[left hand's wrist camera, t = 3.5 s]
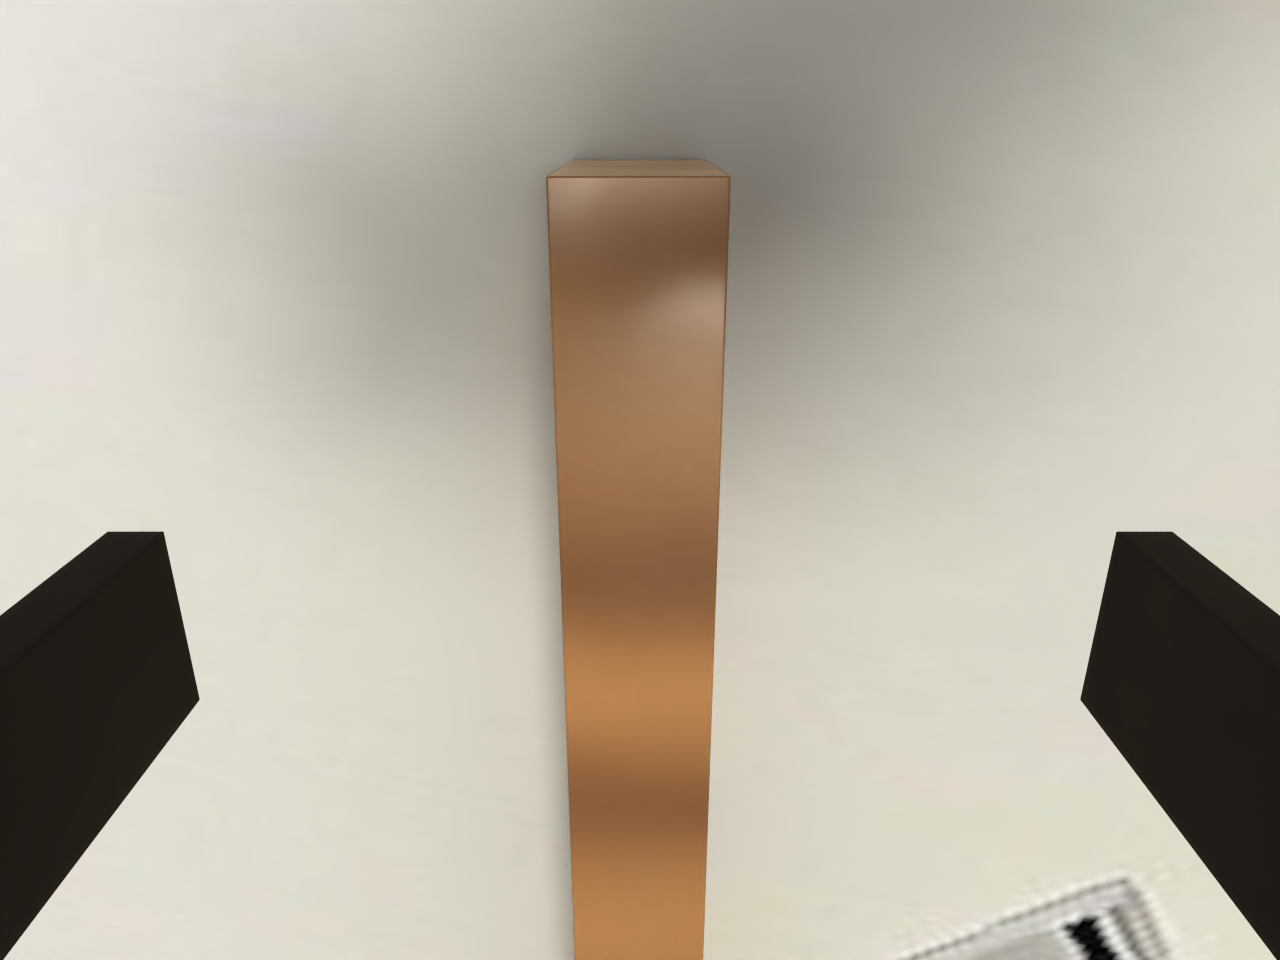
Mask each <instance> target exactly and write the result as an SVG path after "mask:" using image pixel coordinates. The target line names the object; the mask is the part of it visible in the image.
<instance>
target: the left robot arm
mask: <svg viewBox="0 0 1280 960" xmlns="http://www.w3.org/2000/svg"><path fill="white" fill-rule="evenodd" d="M199 700H200V699H199V695H198V690H197V685H196V681H195V676H194V671H193V667H192V662H191V657H190V653H189V648H188V644H187V639H186V634H185V630H184V625H183V620H182V616H181V611H180V606H179V602H178V597H177V592H176V588H175V583H174V579H173V574H172V569H171V565H170V560H169V555H168V551H167V546H166V541H165V537H164V532H107V533H106V534H104V535H103V536H102V537H100V538H99V539H98V540H97V541H95V542H94V543H93V544H91V545H90V546H89V547H88V548H86V549H85V550H84V551H83V552H81V553H80V554H79V555H77V556H76V557H75V558H74V559H72V560H71V561H70V562H68V563H67V564H66V565H65V566H63V567H62V568H61V569H59V570H58V571H57V572H56V573H54V574H53V575H52V576H50V577H49V578H48V579H47V580H45V581H44V582H43V583H42V584H40V585H39V586H38V587H36V588H35V589H34V590H33V591H31V592H30V593H29V594H27V595H26V596H25V597H24V598H22V599H21V600H20V601H18V602H17V603H16V604H15V605H13V606H12V607H11V608H9V609H8V610H7V611H6V612H4V613H3V614H2V615H1V616H0V960H3V959H4V958H5V957H6V955H7V954H8V953H9V951H10V950H11V949H12V947H13V946H14V945H15V943H16V942H17V941H18V939H19V938H20V937H21V935H22V934H23V933H24V931H25V930H26V929H27V927H28V926H29V925H30V923H31V922H32V921H33V920H34V918H35V917H36V916H37V914H38V913H39V912H40V910H41V909H42V908H43V906H44V905H45V904H46V902H47V901H48V900H49V898H50V897H51V896H52V894H53V893H54V892H55V890H56V889H57V888H58V886H59V885H60V884H61V882H62V881H63V880H64V878H65V877H66V876H67V874H68V873H69V872H70V871H71V869H72V868H73V867H74V865H75V864H76V863H77V861H78V860H79V859H80V857H81V856H82V855H83V853H84V852H85V851H86V849H87V848H88V847H89V845H90V844H91V843H92V841H93V840H94V839H95V837H96V836H97V835H98V833H99V832H100V831H101V829H102V828H103V827H104V825H105V824H106V823H107V822H108V820H109V819H110V818H111V816H112V815H113V814H114V812H115V811H116V810H117V808H118V807H119V806H120V804H121V803H122V802H123V800H124V799H125V798H126V796H127V795H128V794H129V792H130V791H131V790H132V788H133V787H134V786H135V784H136V783H137V782H138V780H139V779H140V778H141V776H142V775H143V774H144V773H145V771H146V770H147V769H148V767H149V766H150V765H151V763H152V762H153V761H154V759H155V758H156V757H157V755H158V754H159V753H160V751H161V750H162V749H163V747H164V746H165V745H166V743H167V742H168V741H169V739H170V738H171V737H172V735H173V734H174V733H175V731H176V730H177V729H178V727H179V726H180V725H181V724H182V722H183V721H184V720H185V718H186V717H187V716H188V714H189V713H190V712H191V710H192V709H193V708H194V706H195V705H196V704H197V702H198V701H199ZM1080 700H1081V701H1082V702H1083V704H1084V705H1085V706H1086V708H1087V709H1088V710H1089V712H1090V713H1091V714H1092V716H1093V717H1094V718H1095V720H1096V721H1097V722H1098V724H1099V725H1100V726H1101V727H1102V729H1103V730H1104V731H1105V733H1106V734H1107V735H1108V737H1109V738H1110V739H1111V741H1112V742H1113V743H1114V745H1115V746H1116V747H1117V749H1118V750H1119V751H1120V753H1121V754H1122V755H1123V757H1124V758H1125V759H1126V761H1127V762H1128V763H1129V765H1130V766H1131V767H1132V769H1133V770H1134V771H1135V773H1136V774H1137V775H1138V776H1139V778H1140V779H1141V780H1142V782H1143V783H1144V784H1145V786H1146V787H1147V788H1148V790H1149V791H1150V792H1151V794H1152V795H1153V796H1154V798H1155V799H1156V800H1157V802H1158V803H1159V804H1160V806H1161V807H1162V808H1163V810H1164V811H1165V812H1166V814H1167V815H1168V816H1169V818H1170V819H1171V820H1172V822H1173V823H1174V824H1175V825H1176V827H1177V828H1178V829H1179V831H1180V832H1181V833H1182V835H1183V836H1184V837H1185V839H1186V840H1187V841H1188V843H1189V844H1190V845H1191V847H1192V848H1193V849H1194V851H1195V852H1196V853H1197V855H1198V856H1199V857H1200V859H1201V860H1202V861H1203V863H1204V864H1205V865H1206V867H1207V868H1208V869H1209V871H1210V872H1211V873H1212V874H1213V876H1214V877H1215V878H1216V880H1217V881H1218V882H1219V884H1220V885H1221V886H1222V888H1223V889H1224V890H1225V892H1226V893H1227V894H1228V896H1229V897H1230V898H1231V900H1232V901H1233V902H1234V904H1235V905H1236V906H1237V908H1238V909H1239V910H1240V912H1241V913H1242V914H1243V916H1244V917H1245V918H1246V920H1247V921H1248V922H1249V923H1250V925H1251V926H1252V927H1253V929H1254V930H1255V931H1256V933H1257V934H1258V935H1259V937H1260V938H1261V939H1262V941H1263V942H1264V943H1265V945H1266V946H1267V947H1268V949H1269V950H1270V951H1271V953H1272V954H1273V955H1274V957H1275V958H1276V959H1277V960H1280V616H1279V615H1278V614H1277V613H1276V612H1274V611H1273V610H1272V609H1271V608H1269V607H1268V606H1267V605H1265V604H1264V603H1263V602H1262V601H1260V600H1259V599H1258V598H1256V597H1255V596H1254V595H1253V594H1251V593H1250V592H1249V591H1247V590H1246V589H1245V588H1244V587H1242V586H1241V585H1240V584H1238V583H1237V582H1236V581H1235V580H1233V579H1232V578H1231V577H1230V576H1228V575H1227V574H1226V573H1224V572H1223V571H1222V570H1221V569H1219V568H1218V567H1217V566H1215V565H1214V564H1213V563H1212V562H1210V561H1209V560H1208V559H1206V558H1205V557H1204V556H1203V555H1201V554H1200V553H1199V552H1197V551H1196V550H1195V549H1194V548H1192V547H1191V546H1190V545H1189V544H1187V543H1186V542H1185V541H1183V540H1182V539H1181V538H1180V537H1178V536H1177V535H1176V534H1174V533H1173V532H1116V537H1115V541H1114V546H1113V551H1112V555H1111V560H1110V565H1109V569H1108V574H1107V579H1106V583H1105V588H1104V592H1103V597H1102V602H1101V606H1100V611H1099V616H1098V620H1097V625H1096V630H1095V634H1094V639H1093V644H1092V648H1091V653H1090V657H1089V662H1088V667H1087V671H1086V676H1085V681H1084V685H1083V690H1082V695H1081V699H1080Z"/></svg>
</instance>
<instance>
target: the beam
mask: <svg viewBox="0 0 1280 960" xmlns="http://www.w3.org/2000/svg"><path fill="white" fill-rule="evenodd" d="M730 181H731V178H730V176H728V175H727V174H725V173H724V172H722V171H721V170H719V169H718V168H716V167H715V166H713V165H712V164H710V163H709V162H708V161H706V160H572V161H570V162H569V163H567V164H565V165H564V166H562V167H561V168H559V169H558V170H556V171H555V172H553V173H552V174H550V175H548V176H547V177H546V187H547V214H548V241H549V269H550V296H551V323H552V351H553V378H554V405H555V433H556V460H557V487H558V515H559V542H560V569H561V597H562V624H563V652H564V679H565V706H566V734H567V761H568V788H569V816H570V843H571V870H572V898H573V925H574V952H575V960H703V946H704V917H705V889H706V861H707V833H708V804H709V776H710V748H711V719H712V691H713V663H714V634H715V606H716V578H717V549H718V521H719V493H720V464H721V436H722V408H723V379H724V351H725V323H726V295H727V266H728V238H729V210H730Z"/></svg>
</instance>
